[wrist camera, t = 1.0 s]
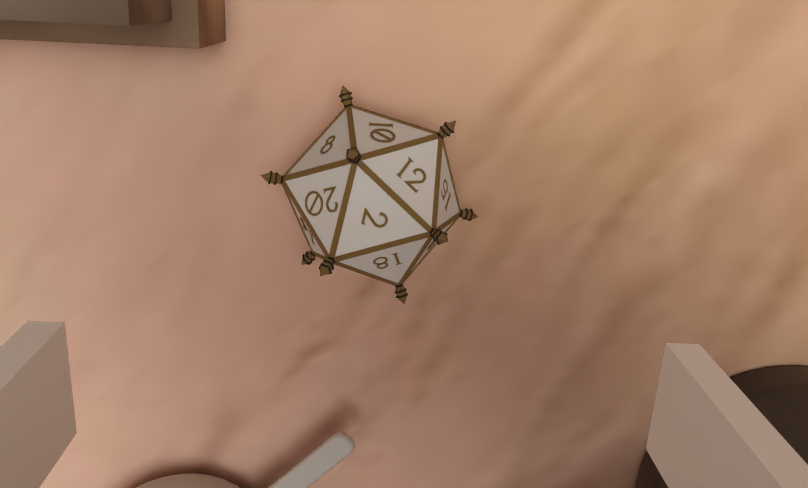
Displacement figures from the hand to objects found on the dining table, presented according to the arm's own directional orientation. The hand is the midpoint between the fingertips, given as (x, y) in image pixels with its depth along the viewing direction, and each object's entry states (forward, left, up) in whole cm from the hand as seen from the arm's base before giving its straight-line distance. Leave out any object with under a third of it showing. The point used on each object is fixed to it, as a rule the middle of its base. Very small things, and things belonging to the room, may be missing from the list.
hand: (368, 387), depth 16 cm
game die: (0, 0, -21) cm, 21 cm away
